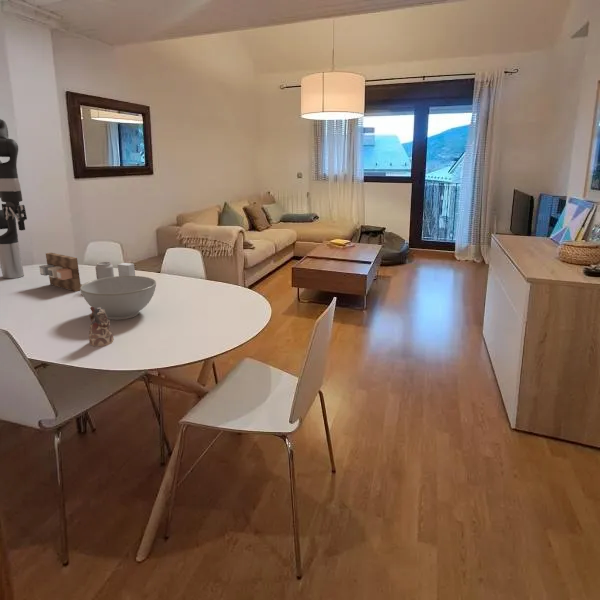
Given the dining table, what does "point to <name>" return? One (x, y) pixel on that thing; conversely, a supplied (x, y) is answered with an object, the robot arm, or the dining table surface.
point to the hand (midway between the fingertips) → (17, 229)
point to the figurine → (99, 328)
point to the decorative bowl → (119, 295)
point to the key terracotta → (64, 274)
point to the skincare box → (126, 269)
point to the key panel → (65, 263)
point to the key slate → (45, 269)
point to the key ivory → (54, 271)
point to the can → (104, 270)
